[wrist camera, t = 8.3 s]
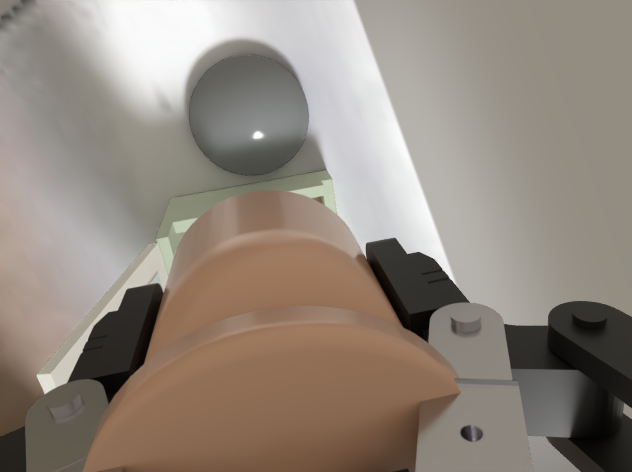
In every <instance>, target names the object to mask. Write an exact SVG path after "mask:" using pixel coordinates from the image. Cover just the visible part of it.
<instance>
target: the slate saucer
mask: <svg viewBox="0 0 632 472" xmlns="http://www.w3.org/2000/svg"><path fill="white" fill-rule="evenodd" d="M189 120H190V126H191V130H192V133H193V136H194V138H195V141H196V143H197V144H198V146H199V148H200V149H201V150H202V152H203V153H204V154H205V155H206V156H207V157H208V158H209V159H210V160H211V161H212V162H213V163H215V164H216V165H217V166H219V167H221V168H223V169H225V170H227V171H230V172H232V173H236V174H241V175H260V174H265V173H269V172H271V171H274V170H276V169H278V168H280V167H282V166H283V165H284V164H286V163H287V162H288V161H289V160H290V159H291V158H293V156H294V155H295V154H296V153H297V152H298V150H299V149H300V147H301V145H302V143H303V141H304V139H305V136H306V133H307V129H308V122H309V112H308V105H307V100H306V98H305V95H304V92H303V90H302V88H301V86H300V85H299V83H298V82H297V80H296V79H295V78H294V77H293V75H292V74H291V73H290V72H289V71H288V70H286V69H285V68H284V67H283V66H281V65H280V64H278V63H277V62H275V61H273V60H271V59H268V58H265V57H262V56H257V55H237V56H233V57H229V58H227V59H224V60H222V61H220V62H218V63H216V64H215V65H214V66H212V67H211V68H210V69H209V70H208V71H207V72H206V73H205V74H204V75H203V76H202V78H201V79H200V80H199V82H198V84H197V85H196V87H195V89H194V92H193V94H192V97H191V102H190V109H189Z"/></svg>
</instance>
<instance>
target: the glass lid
mask: <svg viewBox="0 0 632 472" xmlns="http://www.w3.org/2000/svg"><path fill="white" fill-rule="evenodd" d="M167 279H168V274H167V271H166V268H165V264H164V261H163V257H162V254H161V251H160V247H159V244H158V243H152V244H148V245H147V246H146V247H145V249H144V250H143V251H142V252H141V253H140V254H139V256H138V257H137V258H136V259H135V260H134V261H133V263H132V264H131V265H130V266H129V267H128V268H127V270H126V271H125V272H124V273H123V274H122V275H121V277H120V278H119V279H118V280H117V281H116V282H115V284H114V285H113V286H112V287H111V288H110V289H109V291H108V292H107V293H106V294H105V295H104V296H103V298H102V299H101V300H100V301H99V302H98V303H97V305H96V306H95V307H94V308H93V309H92V310H91V312H90V313H89V314H88V315H87V316H86V317H85V319H84V320H83V321H82V322H81V323H80V324H79V326H78V327H77V328H76V329H75V330H74V331H73V333H72V334H71V335H70V336H69V337H68V338H67V340H66V341H65V342H64V343H63V344H62V345H61V347H60V348H59V349H58V350H57V351H56V352H55V353H54V355H53V356H52V357H51V358H50V359H49V360H48V362H47V363H46V364H45V365H44V366H43V367H42V369H41V370H40V371H39V372H38V373H37V374H36V376H37V378H38V380H39V382H40V384H41V387H42V389H43V391H44V393H45V394H46V393H47V392H49V391H51V390H52V389H54V388H56V387H58V386H61V385H63V384H66V383H67V382H68V379H69V377H70V375H71V373H72V371H73V369H74V367H75V365H76V363H77V360H78V358H79V356H80V354H81V353H83V348H84V346H85V344H86V342H87V341H88V337H89V335H90V333H91V331H92V329H93V327H94V325H95V324H96V323H97V322H98V321H99V320H101V319H102V318H103V317H104V316H105V315H106V314H107V313H108V312H112V311H117V310H118V309H119V306H120V304H121V302H122V299H123V297H124V294H125V292H126V290H127V289H129V288H134V287H139V286H144V285H149V284H154V283H159V284H160V286H161V287H162V290H163V293H164V290H165V286H166V283H167Z"/></svg>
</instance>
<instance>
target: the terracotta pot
mask: <svg viewBox="0 0 632 472" xmlns="http://www.w3.org/2000/svg"><path fill="white" fill-rule="evenodd" d="M454 378H460V377H459V375H458V374H457V372H456V371H455V369H454V368H453V366H452V365H451V364H450V362H449V361H448V360H447V359H446V358H444V357H443V356H442V355H441V354H440V353H439V352H438V351H437V350H436V349H435V348H434V347H433V346H432V345H430V344H429V343H427V342H426V341H425V340H423V339H422V338H420V337H419V336H418V335H416V334H415V333H413V332H411V331H409V330H407V329H405V328H403V326H402V324H401V322H400V320H399V318H398V317H397V315H396V313H395V311H394V309H393V307H392V305H391V304H390V302H389V300H388V298H387V296H386V294H385V293H384V291H383V289H382V287H381V285H380V283H379V281H378V280H377V278H376V276H375V274H374V272H373V270H372V269H371V267H370V265H369V263H368V261H367V259H366V257H365V256H364V254H363V252H362V250H361V248H360V246H359V244H358V243H357V241H356V239H355V237H354V235H353V233H352V232H351V230H350V229H349V228H348V226H347V225H346V224H345V222H344V221H343V220H342V219H341V218H340V217H339V216H338V215H337V214H336V213H334V212H333V211H332V210H331V209H329V208H328V207H327V206H325V205H323V204H321V203H320V202H318V201H316V200H314V199H312V198H309V197H307V196H304V195H301V194H297V193H293V192H288V191H280V190H261V191H252V192H248V193H244V194H240V195H236V196H234V197H231V198H228V199H226V200H224V201H222V202H220V203H218V204H216V205H215V206H213V207H211V208H210V209H209V210H207V211H206V212H205V213H203V214H202V215H201V216H200V217H199V218H198V219H197V220H196V221H195V222H194V223H193V224H192V225H191V226H190V227H189V229H188V230H187V231H186V232H185V234H184V236H183V237H182V239H181V241H180V242H179V244H178V247H177V249H176V252H175V254H174V257H173V261H172V265H171V268H170V272H169V275H168V279H167V283H166V286H165V290H164V294H163V297H162V301H161V304H160V308H159V312H158V315H157V319H156V322H155V326H154V330H153V333H152V337H151V341H150V344H149V348H148V351H147V355H146V359H145V362H144V365H143V366H142V367H140V368H139V369H138V370H137V371H136V372H135V373H134V374H133V375H132V376H131V377H130V378H129V379H128V380H127V381H126V382H125V384H124V385H123V386H122V387H121V388H120V390H119V391H118V392H117V393H116V394H115V396H114V397H113V399H112V400H111V402H110V404H109V405H108V407H107V409H106V410H105V412H104V414H103V415H102V417H101V419H100V422H99V424H98V427H97V429H96V432H95V434H94V437H93V440H92V442H91V445H90V448H89V451H88V454H87V455H88V457H87V460H86V463H85V466H84V469H83V472H97V471H102V470H106V469H111V468H116V467H120V466H121V467H122V469H123V471H124V472H394V471H398V470H403V469H407V468H408V470H409V472H415V470H416V456H417V442H418V428H419V414H420V401H425V400H429V399H434V398H438V397H443V396H448V395H452V394H457V393H461V391H460V390H459V388H458V386H457V384H456V382H455V380H454Z"/></svg>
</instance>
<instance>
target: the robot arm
mask: <svg viewBox="0 0 632 472" xmlns="http://www.w3.org/2000/svg"><path fill="white" fill-rule="evenodd" d="M366 257H367V261H368V263H369V265H370V267H371V269H372V270H373V272H374V274H375V276H376V278H377V280H378V281H379V283H380V285H381V287H382V289H383V291H384V293H385V294H386V296H387V298H388V300H389V302H390V304H391V305H392V307H393V309H394V311H395V313H396V315H397V317H398V318H399V320H400V322H401V324H402V326H403V328H405V329H407V330H409V331H411V332H413V333H415V334H416V335H418V336H419V337H420V338H422V339H423V340H425V341H426V342H427V343H429V344H430V345H432V346H433V347H434V348H435V349H436V350H437V351H438V352H439V353H440V354H441V355H442V356H443V357H444V358H446V359H447V360H448V361H449V362H450V364H451V365H452V366H453V368H454V369H455V371H456V372H457V374H458V375H459V377H460V378H454V380H455V382H456V384H457V386H458V388H459V390H460V391H461V393H457V394H452V395H448V396H443V397H438V398H434V399H429V400H425V401H420V414H419V428H418V442H417V456H416V470H415V472H534V471H533V465H532V459H531V453H530V448H529V442H528V437H527V436H546V438H547V439H548V441H549V442H550V443H551V444H552V445H553V446H554V447H555V448H556V449H557V450H558V451H559V452H560V453H561V454H562V455H563V456H564V457H566V458H567V459H568V460H569V461H570V462H571V463H572V464H573V465H574V466H575V467H576V468H578V469H579V470H580V471H581V472H632V419H630V418H629V417H628V416H626V415H625V414H624V413H623V408H624V403H625V404H627V405H628V406H629V407H631V408H632V317H631V316H629V315H627V314H625V313H623V312H621V311H620V310H617V309H615V308H613V307H611V306H608V305H605V304H601V303H596V302H588V301H574V302H567V303H563V304H560V305H558V306H556V307H555V308H553V309H552V310H551V311H550V313H549V316H548V326H515V325H507V324H504V322H503V319H502V317H501V316H500V314H499V313H497V312H496V311H495V310H493V309H491V308H489V307H487V306H484V305H481V304H476V303H470V302H469V301H468V300H467V298H466V297H465V296H464V295H463V294H462V292H461V291H460V290H459V289H458V287H457V286H456V285H455V284H454V283H453V281H452V280H450V279H449V276H448V275H447V274H446V273H445V272H444V271H443V270H442V268H441V267H440V266H439V264H438V263H437V262H436V261H435V259H433V258H431V257H429V256H427V255H424V254H422V253H420V252H416V253H411V254H407V253H406V252H405V250H404V249H403V248H402V246H401V245H400V244H399V242H398V241H397V239H396V238H390V239H385V240H380V241H374V242H369V243H366ZM163 294H164V293H163V290H162V287H161V286H160V284H159V283H154V284H149V285H144V286H139V287H134V288H129V289H127V290H126V292H125V294H124V297H123V299H122V302H121V304H120V306H119V309H118V310H117V311H112V312H108V313H107V314H106V315H105V316H104V317H103V318H102V319H101V320H99V321H98V322H97V323H96V324H95V325H94V327H93V329H92V331H91V333H90V335H89V337H88V341H87V342H86V344H85V346H84V348H83V353H81V354H80V356H79V358H78V360H77V363H76V365H75V367H74V369H73V371H72V373H71V375H70V377H69V379H68V382H67V383H66V384H63V385H61V386H58V387H56V388H54V389H52V390H51V391H49V392H47V393H46V394H44V395H43V396H42V397H41V398H39V399H38V400H37V401H36V402H35V403H34V404H33V405H32V406H31V408H30V409H29V411H28V412H27V414H26V417H25V426H24V427H22V428H20V429H18V430H16V431H13V432H11V433H8V434H6V435H4V436H1V437H0V472H83V469H84V466H85V463H86V460H87V457H88V455H87V454H88V451H89V448H90V445H91V442H92V440H93V437H94V434H95V432H96V429H97V427H98V424H99V422H100V419H101V417H102V415H103V414H104V412H105V410H106V409H107V407H108V405H109V404H110V402H111V400H112V399H113V397H114V396H115V394H116V393H117V392H118V391H119V390H120V388H121V387H122V386H123V385H124V384H125V382H126V381H127V380H128V379H129V378H130V377H131V376H132V375H133V374H134V373H135V372H136V371H137V370H138V369H139V368H140V367H142V366H143V365H144V362H145V359H146V355H147V351H148V348H149V344H150V341H151V337H152V333H153V330H154V326H155V322H156V319H157V315H158V312H159V308H160V304H161V301H162V297H163ZM97 472H124V471H123V469H122V467H121V466H120V467H116V468H111V469H106V470H102V471H97ZM394 472H409V470H408V468H407V469H403V470H398V471H394Z"/></svg>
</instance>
